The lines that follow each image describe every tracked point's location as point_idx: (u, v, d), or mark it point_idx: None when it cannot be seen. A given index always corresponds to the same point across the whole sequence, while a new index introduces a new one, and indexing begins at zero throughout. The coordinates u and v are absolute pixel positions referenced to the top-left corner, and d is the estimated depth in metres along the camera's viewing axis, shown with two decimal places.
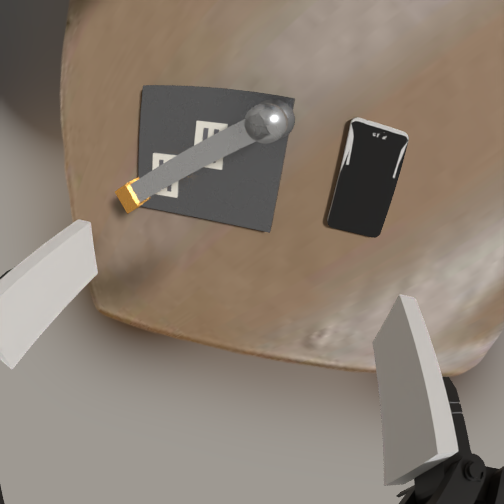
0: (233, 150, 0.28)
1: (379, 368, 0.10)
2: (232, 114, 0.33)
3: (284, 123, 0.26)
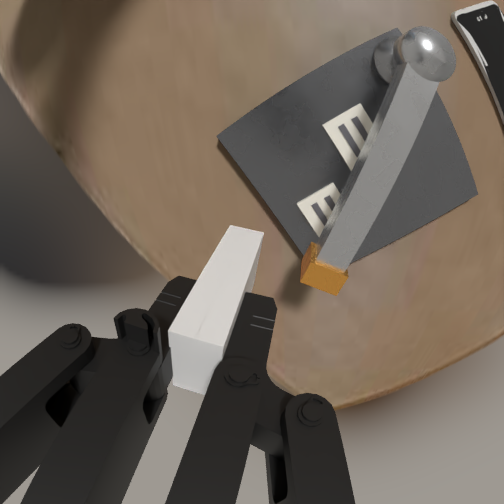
0: (425, 110, 0.15)
1: None
2: (355, 88, 0.21)
3: (446, 41, 0.12)
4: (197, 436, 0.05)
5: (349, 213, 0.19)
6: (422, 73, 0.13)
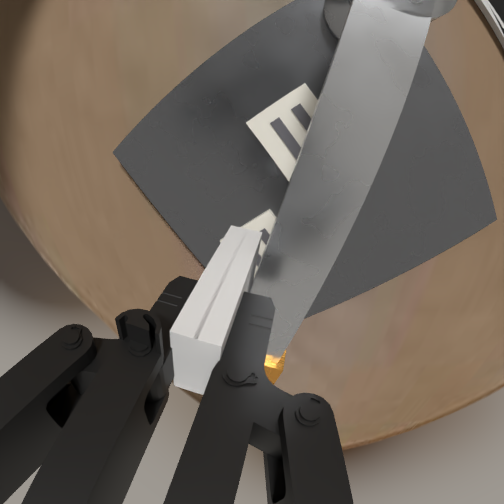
0: (409, 74, 0.07)
1: None
2: (297, 60, 0.13)
3: None
4: (195, 436, 0.05)
5: (269, 283, 0.11)
6: (393, 2, 0.05)
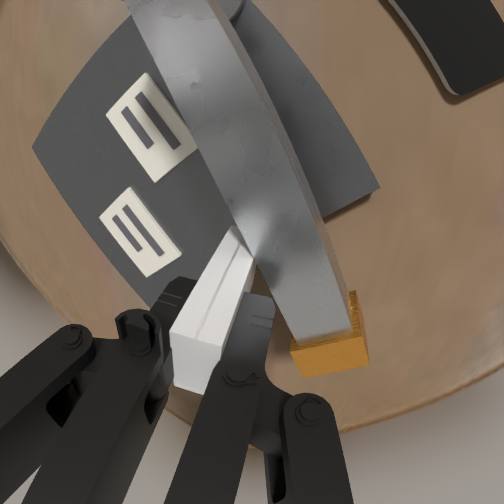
0: (203, 3, 0.06)
1: None
2: (141, 54, 0.14)
3: None
4: (196, 436, 0.05)
5: (270, 256, 0.10)
6: None
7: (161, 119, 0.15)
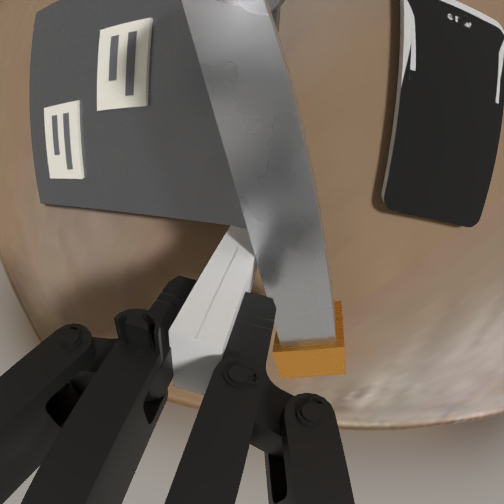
0: None
1: None
2: (161, 0, 0.12)
3: None
4: (197, 436, 0.05)
5: (272, 259, 0.11)
6: None
7: (134, 64, 0.14)
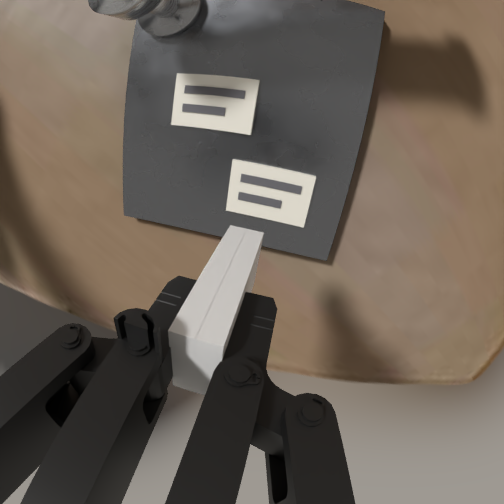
0: None
1: None
2: (163, 67, 0.18)
3: None
4: (197, 436, 0.05)
5: None
6: None
7: (216, 88, 0.18)
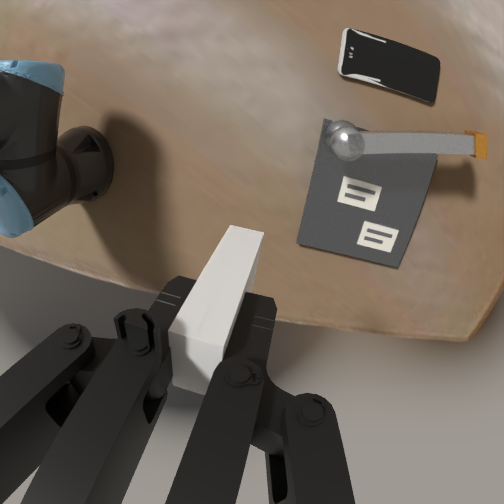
0: (380, 134, 0.29)
1: None
2: (335, 170, 0.40)
3: (333, 139, 0.31)
4: (197, 436, 0.05)
5: (446, 148, 0.28)
6: (363, 144, 0.31)
7: (362, 187, 0.40)
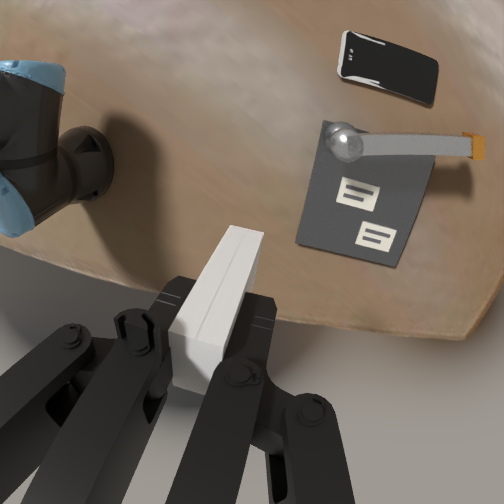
0: (379, 136, 0.30)
1: None
2: (334, 171, 0.40)
3: (333, 140, 0.32)
4: (197, 436, 0.05)
5: (444, 150, 0.29)
6: (362, 146, 0.31)
7: (361, 188, 0.40)
